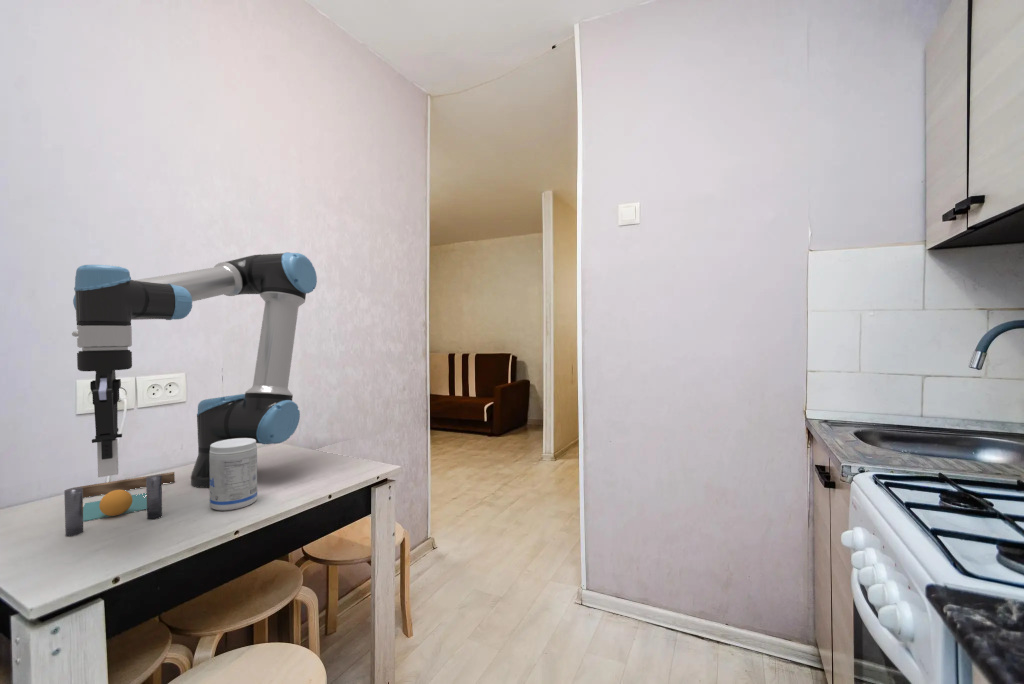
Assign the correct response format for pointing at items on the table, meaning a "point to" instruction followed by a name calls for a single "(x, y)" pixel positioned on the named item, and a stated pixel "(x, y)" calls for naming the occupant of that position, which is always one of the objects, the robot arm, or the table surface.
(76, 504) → the left post
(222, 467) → the supplement tub
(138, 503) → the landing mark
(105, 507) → the ball
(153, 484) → the right post
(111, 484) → the brown wooden bar
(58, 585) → the table surface
